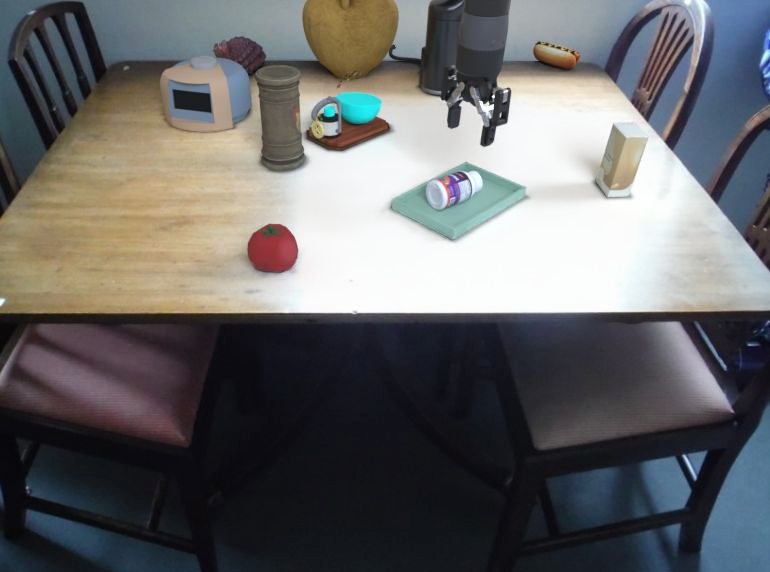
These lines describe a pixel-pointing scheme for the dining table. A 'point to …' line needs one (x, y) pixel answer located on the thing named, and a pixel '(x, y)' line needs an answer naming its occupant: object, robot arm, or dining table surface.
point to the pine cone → (241, 52)
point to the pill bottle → (453, 189)
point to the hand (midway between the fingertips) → (469, 136)
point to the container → (280, 117)
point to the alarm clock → (205, 94)
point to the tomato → (273, 248)
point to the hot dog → (556, 55)
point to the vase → (350, 33)
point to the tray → (465, 214)
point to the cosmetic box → (621, 159)
